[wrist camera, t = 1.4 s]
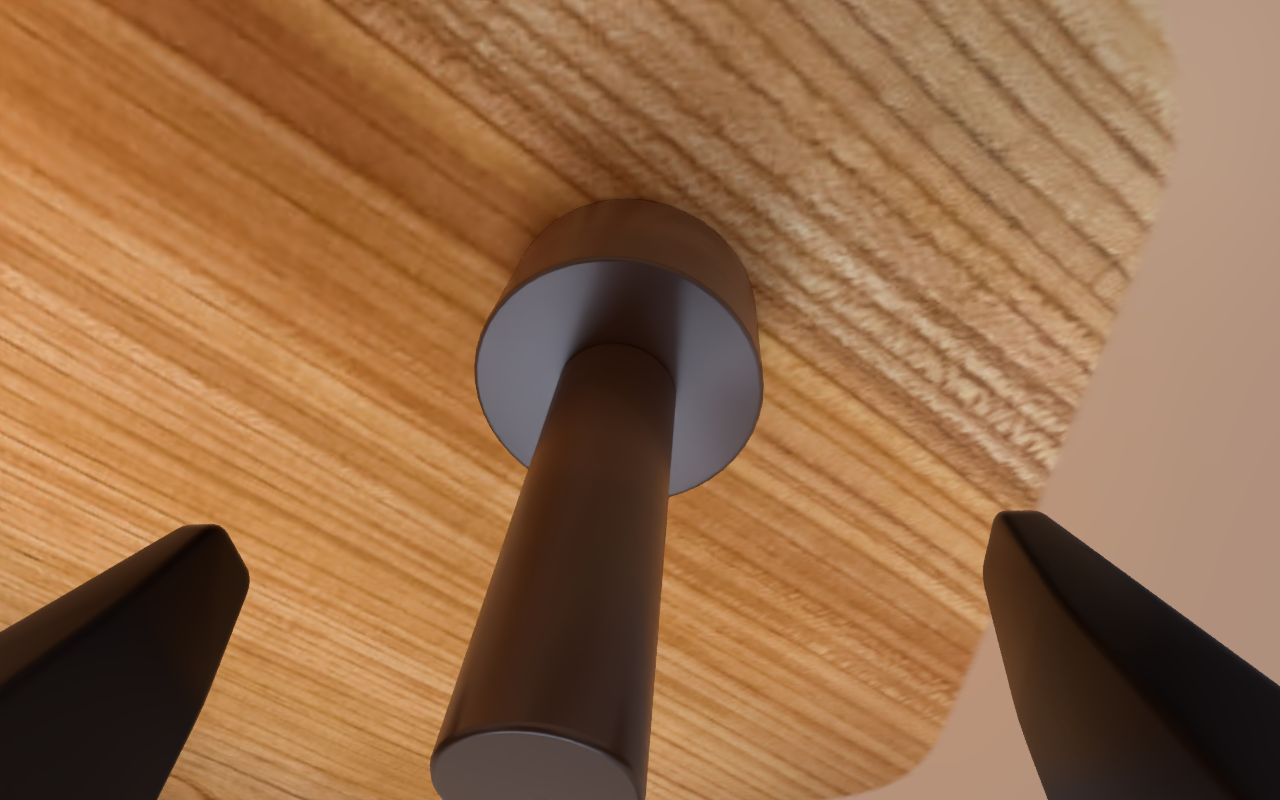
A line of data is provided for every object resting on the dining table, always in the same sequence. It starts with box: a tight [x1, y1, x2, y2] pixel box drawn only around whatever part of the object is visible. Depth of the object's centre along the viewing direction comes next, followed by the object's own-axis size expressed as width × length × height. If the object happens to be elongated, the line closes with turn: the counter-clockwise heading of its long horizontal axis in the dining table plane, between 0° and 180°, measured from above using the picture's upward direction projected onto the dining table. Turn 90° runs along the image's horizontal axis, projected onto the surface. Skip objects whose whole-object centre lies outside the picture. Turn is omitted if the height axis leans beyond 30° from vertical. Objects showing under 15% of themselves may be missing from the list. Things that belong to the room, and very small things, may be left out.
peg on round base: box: [430, 199, 764, 800], centre depth 9 cm, size 4×4×8 cm
